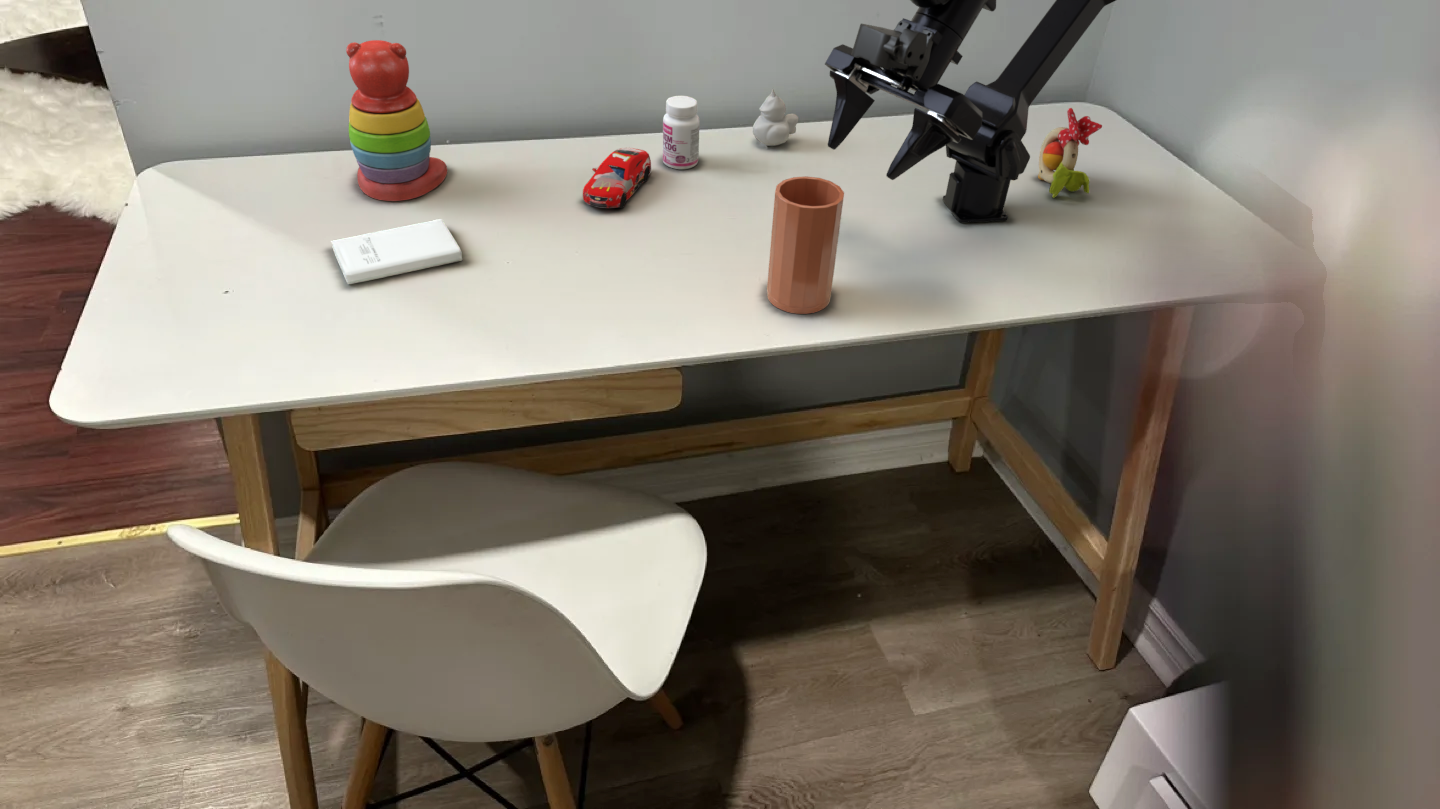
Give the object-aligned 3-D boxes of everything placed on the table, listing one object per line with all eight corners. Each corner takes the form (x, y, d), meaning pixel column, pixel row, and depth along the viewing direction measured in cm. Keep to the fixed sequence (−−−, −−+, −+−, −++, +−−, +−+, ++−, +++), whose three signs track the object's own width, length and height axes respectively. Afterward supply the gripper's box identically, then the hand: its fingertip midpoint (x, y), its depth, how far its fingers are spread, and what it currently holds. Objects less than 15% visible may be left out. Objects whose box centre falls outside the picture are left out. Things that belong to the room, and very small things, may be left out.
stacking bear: (450, 167, 129) (431, 27, 118) (435, 204, 121) (413, 58, 110) (366, 164, 129) (338, 24, 118) (345, 201, 121) (313, 55, 110)
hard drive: (463, 262, 111) (348, 286, 106) (442, 229, 117) (332, 250, 112) (461, 249, 110) (345, 273, 105) (441, 217, 116) (330, 238, 111)
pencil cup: (802, 273, 112) (813, 170, 104) (843, 301, 108) (858, 197, 100) (754, 291, 109) (761, 186, 101) (794, 321, 105) (805, 214, 97)
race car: (617, 217, 121) (616, 186, 118) (576, 208, 122) (574, 178, 120) (658, 172, 131) (658, 143, 128) (620, 164, 132) (619, 136, 129)
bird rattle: (1019, 197, 134) (1060, 200, 126) (1019, 111, 131) (1062, 109, 122) (1059, 192, 136) (1102, 196, 127) (1060, 107, 132) (1105, 105, 124)
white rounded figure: (745, 137, 140) (748, 81, 135) (788, 132, 142) (793, 77, 137) (759, 153, 136) (764, 96, 131) (803, 148, 138) (809, 92, 133)
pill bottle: (656, 165, 132) (656, 104, 127) (671, 152, 136) (672, 91, 130) (689, 173, 131) (690, 111, 125) (703, 159, 134) (706, 98, 129)
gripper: (836, -33, 103) (759, 104, 106) (971, 14, 91) (881, 165, 95) (890, 19, 112) (818, 144, 115) (1020, 67, 100) (936, 205, 103)
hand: (859, 162), depth 107 cm, fingers open, 9 cm apart
